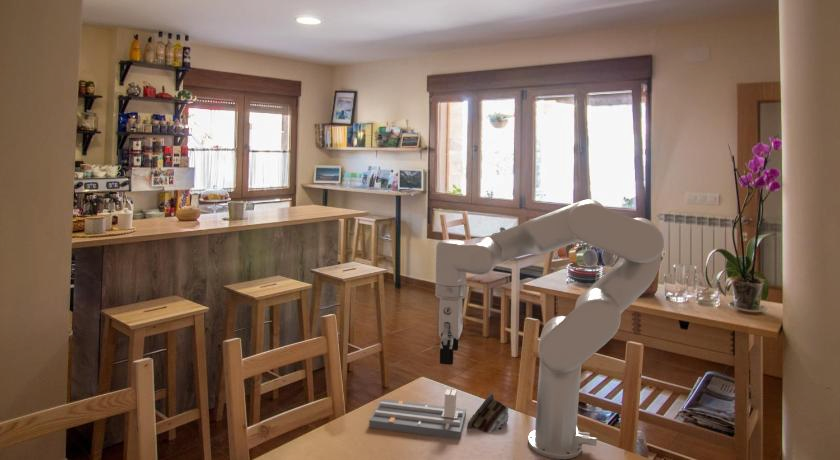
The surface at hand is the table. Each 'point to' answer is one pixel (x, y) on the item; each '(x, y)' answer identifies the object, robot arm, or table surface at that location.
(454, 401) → the fader knob
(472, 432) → the table surface
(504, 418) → the chocolate cake
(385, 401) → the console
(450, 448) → the table surface
